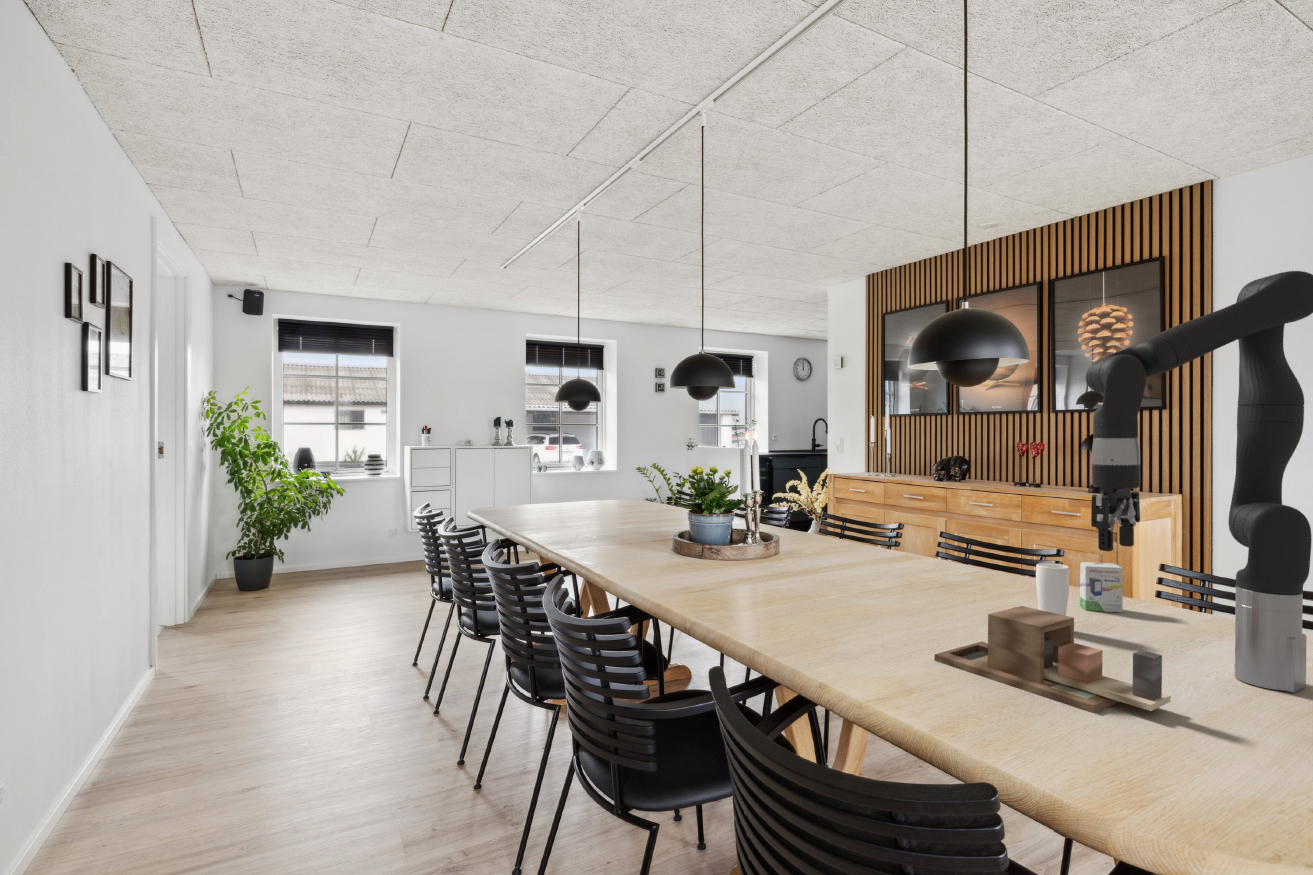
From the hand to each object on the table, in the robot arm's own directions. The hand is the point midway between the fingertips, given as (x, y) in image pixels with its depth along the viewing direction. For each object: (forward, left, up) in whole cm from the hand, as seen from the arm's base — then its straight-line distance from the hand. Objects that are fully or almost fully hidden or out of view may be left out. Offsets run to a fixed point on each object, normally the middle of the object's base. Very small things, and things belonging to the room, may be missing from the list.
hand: (1116, 548), depth 128 cm
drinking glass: (+23, -21, -25) cm, 40 cm away
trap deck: (+9, +13, -24) cm, 29 cm away
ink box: (+26, -50, -25) cm, 62 cm away
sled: (-2, +13, -23) cm, 26 cm away
